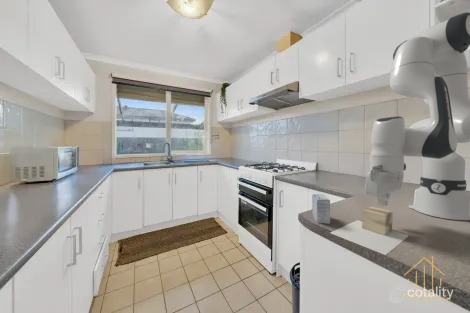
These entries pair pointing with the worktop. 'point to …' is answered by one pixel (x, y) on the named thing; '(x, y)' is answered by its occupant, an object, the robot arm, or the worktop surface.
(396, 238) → the white flat sheet
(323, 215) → the medicine box
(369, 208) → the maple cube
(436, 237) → the worktop surface
